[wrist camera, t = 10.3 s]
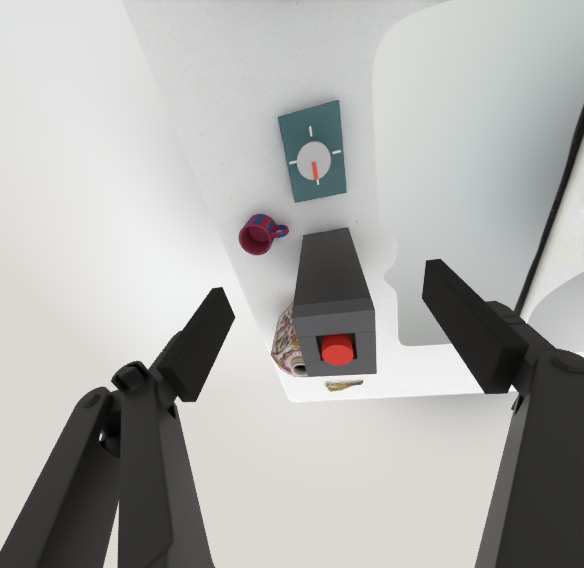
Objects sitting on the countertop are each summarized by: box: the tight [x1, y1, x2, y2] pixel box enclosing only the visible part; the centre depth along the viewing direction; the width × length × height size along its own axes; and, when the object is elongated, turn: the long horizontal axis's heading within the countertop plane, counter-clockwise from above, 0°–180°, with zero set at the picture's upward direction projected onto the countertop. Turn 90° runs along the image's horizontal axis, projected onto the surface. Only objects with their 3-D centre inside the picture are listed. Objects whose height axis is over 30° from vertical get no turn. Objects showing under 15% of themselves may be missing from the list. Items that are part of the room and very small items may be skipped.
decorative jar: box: [271, 302, 308, 377], centre depth 57 cm, size 12×12×18 cm
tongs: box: [326, 381, 363, 392], centre depth 79 cm, size 4×13×2 cm, turn 117°
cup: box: [239, 214, 289, 255], centre depth 48 cm, size 7×10×7 cm
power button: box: [322, 334, 353, 365], centre depth 30 cm, size 4×4×2 cm
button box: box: [291, 228, 377, 377], centre depth 42 cm, size 12×10×28 cm
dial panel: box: [278, 100, 346, 203], centre depth 41 cm, size 14×10×3 cm
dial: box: [297, 141, 331, 180], centre depth 37 cm, size 5×5×8 cm
